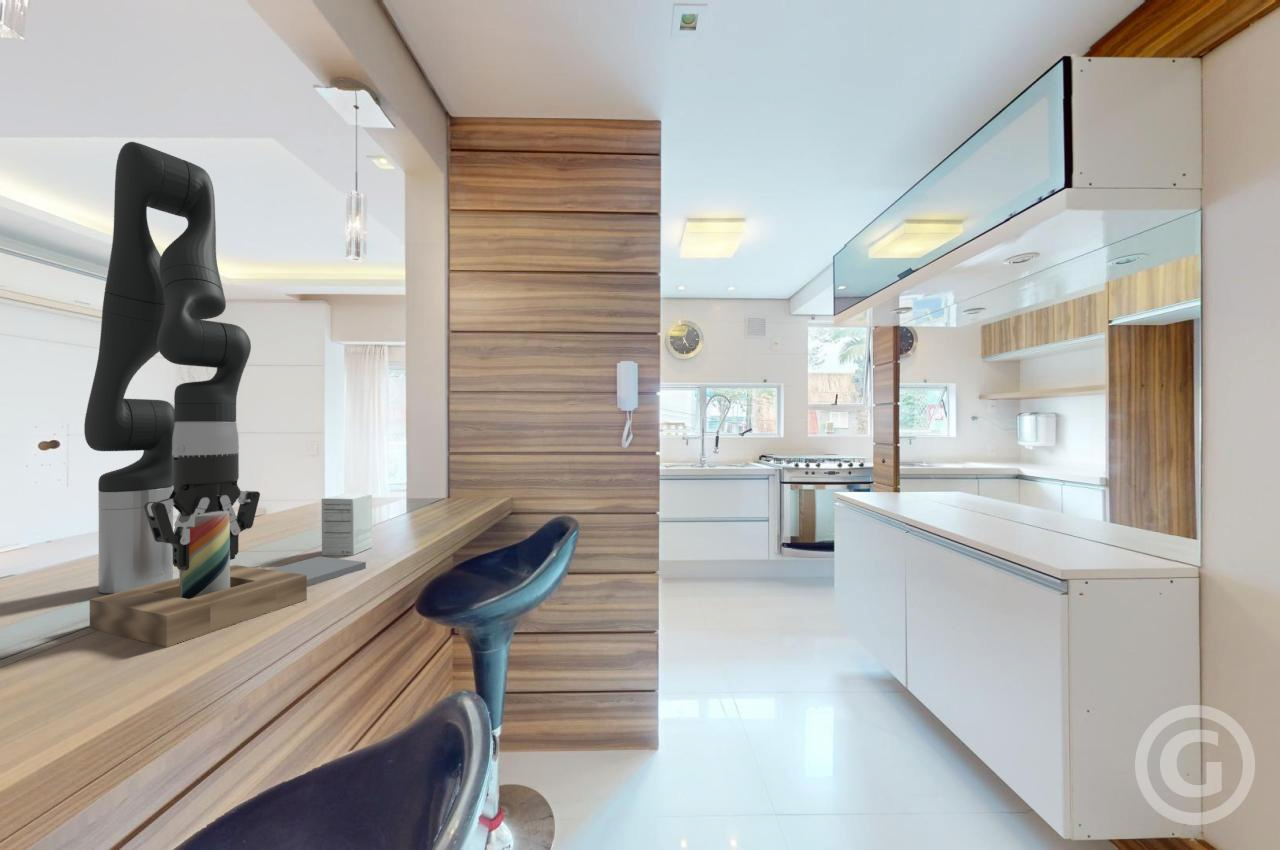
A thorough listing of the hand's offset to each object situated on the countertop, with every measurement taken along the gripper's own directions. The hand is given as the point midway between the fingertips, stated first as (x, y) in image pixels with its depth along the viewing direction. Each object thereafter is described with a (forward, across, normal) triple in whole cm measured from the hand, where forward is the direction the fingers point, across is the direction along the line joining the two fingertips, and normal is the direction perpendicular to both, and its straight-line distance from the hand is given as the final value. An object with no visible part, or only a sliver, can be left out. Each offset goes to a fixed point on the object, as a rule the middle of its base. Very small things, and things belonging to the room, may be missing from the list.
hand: (206, 563), depth 73 cm
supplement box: (+8, -34, -13) cm, 37 cm away
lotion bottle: (+8, 0, 0) cm, 8 cm away
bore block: (+7, 0, 0) cm, 7 cm away
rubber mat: (+7, -19, -4) cm, 21 cm away
